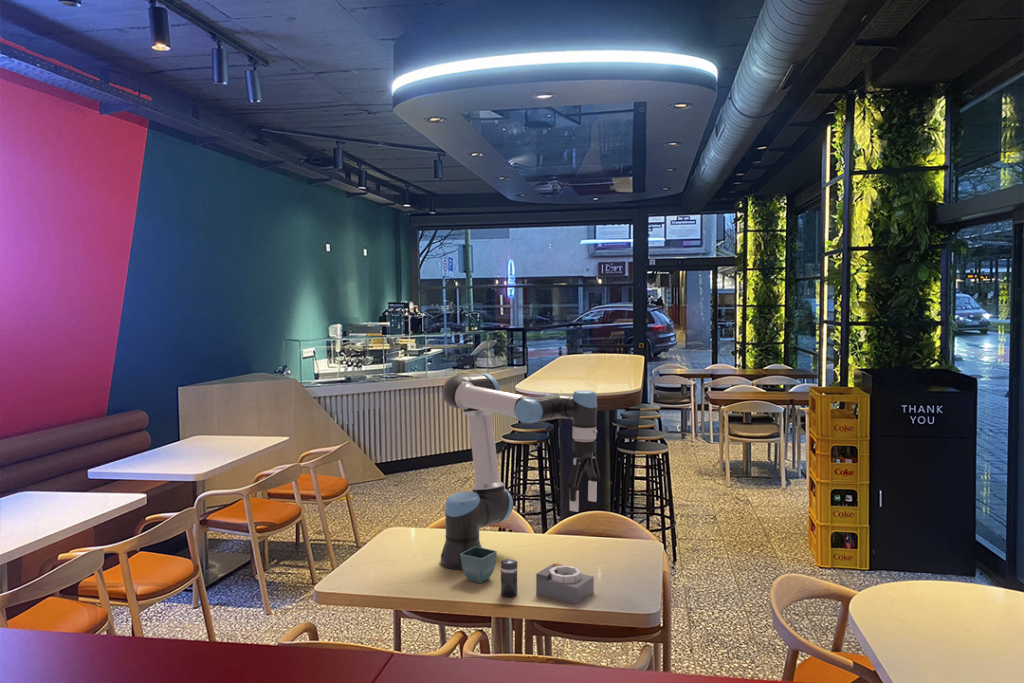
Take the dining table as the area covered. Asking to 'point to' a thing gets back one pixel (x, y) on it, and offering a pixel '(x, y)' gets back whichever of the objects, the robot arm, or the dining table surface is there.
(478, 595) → the dining table surface
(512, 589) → the lens
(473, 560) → the flower pot
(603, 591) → the dining table surface
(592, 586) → the camera body
